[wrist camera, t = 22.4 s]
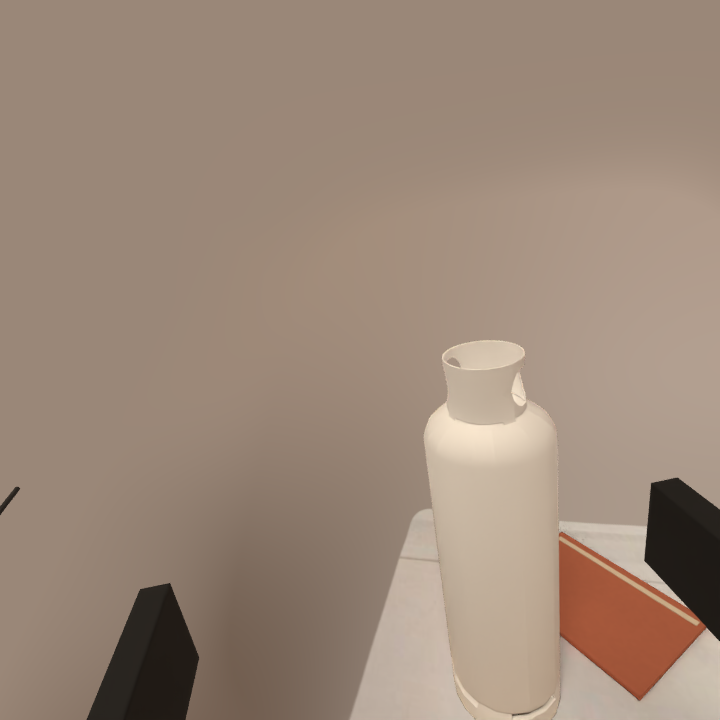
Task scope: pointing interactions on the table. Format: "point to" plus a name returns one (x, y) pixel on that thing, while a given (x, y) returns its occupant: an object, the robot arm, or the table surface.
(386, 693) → the table surface
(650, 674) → the notebook
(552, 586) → the bottle
